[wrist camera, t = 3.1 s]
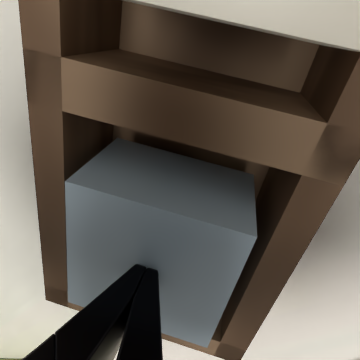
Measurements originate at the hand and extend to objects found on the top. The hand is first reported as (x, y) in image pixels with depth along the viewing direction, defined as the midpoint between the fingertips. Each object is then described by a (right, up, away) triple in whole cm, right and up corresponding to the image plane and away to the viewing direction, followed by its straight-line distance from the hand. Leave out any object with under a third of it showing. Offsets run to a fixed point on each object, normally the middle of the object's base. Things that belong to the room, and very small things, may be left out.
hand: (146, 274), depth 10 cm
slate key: (+1, +2, +3) cm, 4 cm away
